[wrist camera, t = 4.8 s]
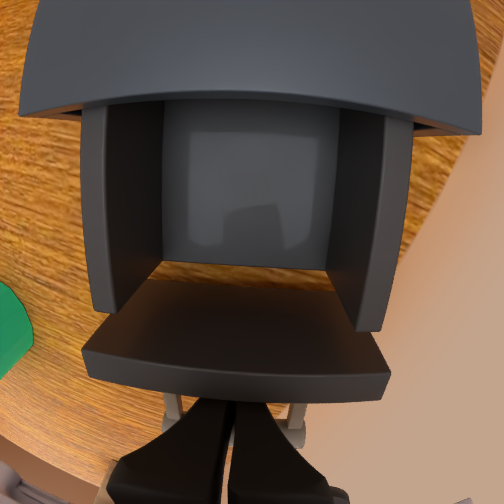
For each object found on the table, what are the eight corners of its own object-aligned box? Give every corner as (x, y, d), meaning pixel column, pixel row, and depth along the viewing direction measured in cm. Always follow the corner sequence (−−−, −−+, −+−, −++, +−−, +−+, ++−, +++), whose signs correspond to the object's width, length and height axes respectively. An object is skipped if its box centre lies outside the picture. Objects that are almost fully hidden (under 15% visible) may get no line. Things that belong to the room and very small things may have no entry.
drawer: (325, 390, 15) (343, 477, 10) (154, 378, 15) (120, 458, 10) (362, -42, 8) (402, -109, 3) (163, -49, 8) (123, -116, 3)
